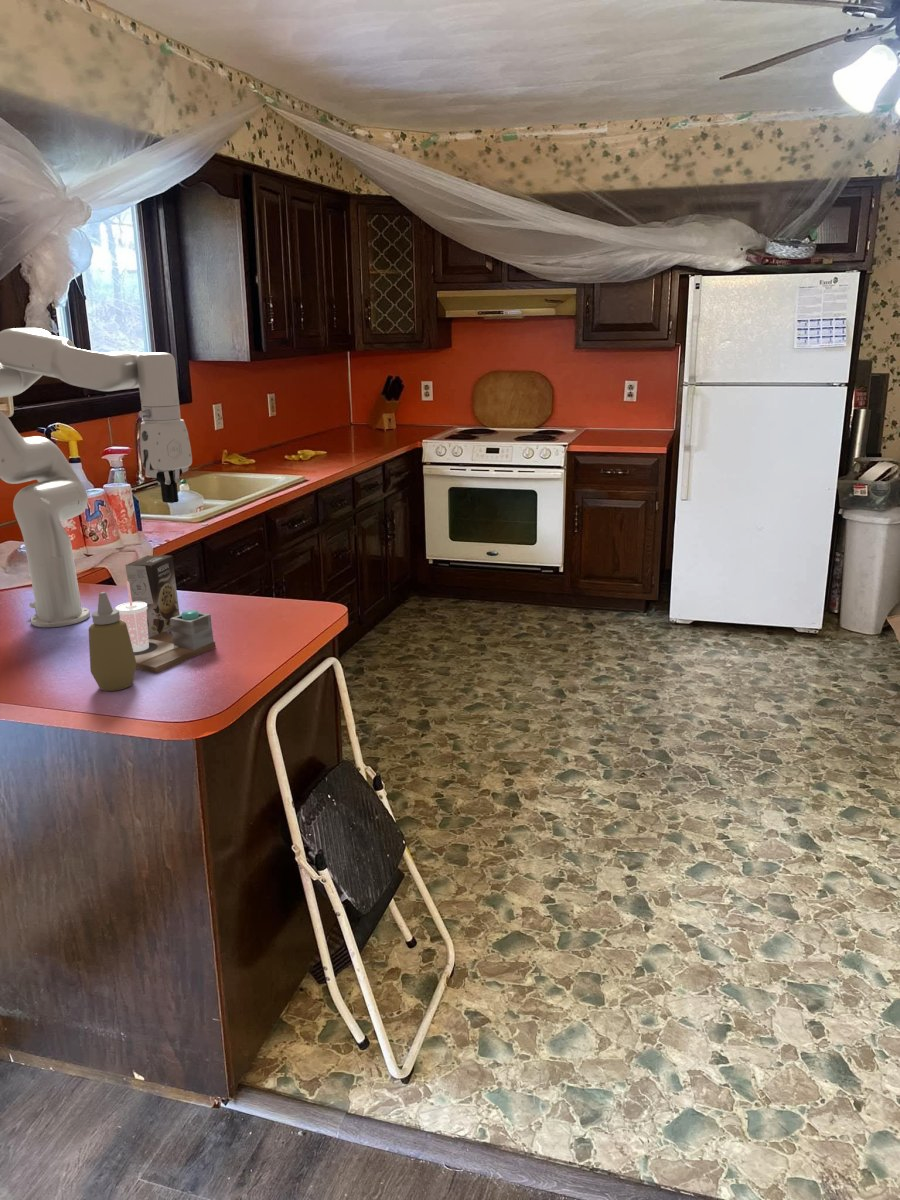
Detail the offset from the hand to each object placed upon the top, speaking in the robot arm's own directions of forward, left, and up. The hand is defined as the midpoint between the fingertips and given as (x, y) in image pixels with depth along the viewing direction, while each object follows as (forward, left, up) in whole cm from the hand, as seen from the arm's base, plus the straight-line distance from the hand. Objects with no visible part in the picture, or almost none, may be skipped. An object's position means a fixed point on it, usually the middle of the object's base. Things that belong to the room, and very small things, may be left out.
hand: (170, 501), depth 190 cm
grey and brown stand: (+8, -15, -28) cm, 33 cm away
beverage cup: (+5, -18, -27) cm, 32 cm away
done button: (+13, -10, -23) cm, 28 cm away
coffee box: (-4, -4, -28) cm, 29 cm away
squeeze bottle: (+14, -31, -28) cm, 44 cm away
